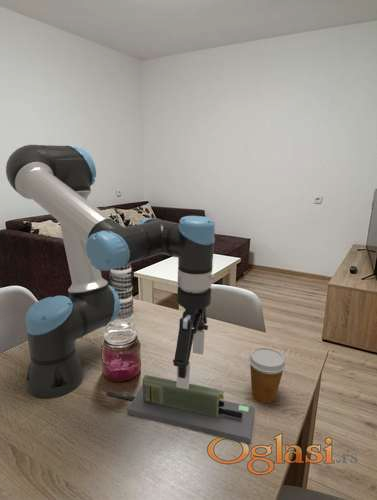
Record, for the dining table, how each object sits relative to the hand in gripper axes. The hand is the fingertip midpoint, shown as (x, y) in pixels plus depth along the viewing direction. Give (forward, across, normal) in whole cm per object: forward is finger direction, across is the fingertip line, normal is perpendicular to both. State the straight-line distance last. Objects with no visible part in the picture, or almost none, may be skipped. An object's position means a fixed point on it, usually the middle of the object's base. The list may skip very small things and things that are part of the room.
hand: (190, 368), depth 79 cm
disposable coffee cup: (+13, +12, -18) cm, 25 cm away
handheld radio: (+11, 0, -1) cm, 11 cm away
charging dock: (+13, 0, +4) cm, 13 cm away
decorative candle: (+14, +42, +39) cm, 59 cm away
